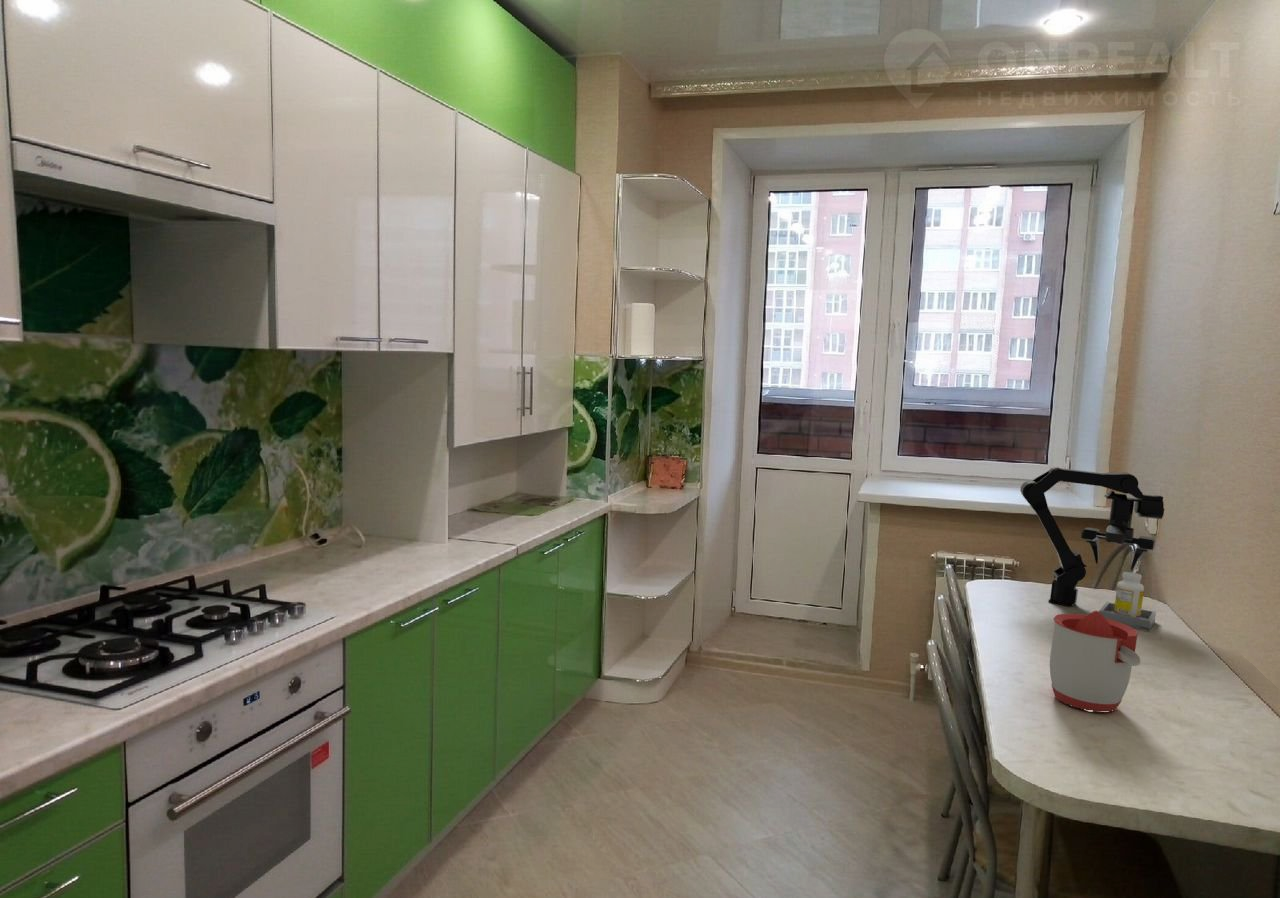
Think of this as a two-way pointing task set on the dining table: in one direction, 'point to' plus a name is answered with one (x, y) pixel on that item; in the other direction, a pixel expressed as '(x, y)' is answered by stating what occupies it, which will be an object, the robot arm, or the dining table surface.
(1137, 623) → the tray
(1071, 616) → the citrus juicer
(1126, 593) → the supplement bottle
